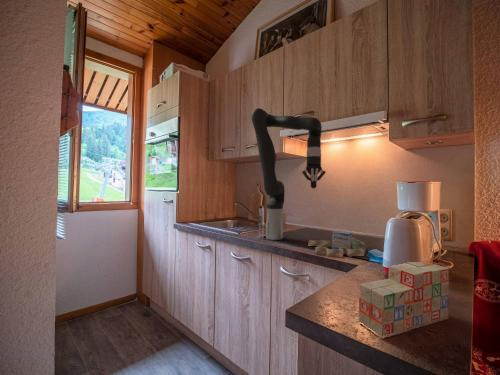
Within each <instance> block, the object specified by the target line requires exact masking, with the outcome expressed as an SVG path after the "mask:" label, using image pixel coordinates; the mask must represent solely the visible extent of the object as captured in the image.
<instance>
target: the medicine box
mask: <svg viewBox="0 0 500 375" xmlns="http://www.w3.org/2000/svg"><path fill="white" fill-rule="evenodd" d="M351 237H352V232H348V231H347V232H346V231H336V230H334V231H332V237H331V238H332V240H331V241H332V247H331V249H339V247H346V248H348V249H352V247H351Z"/></svg>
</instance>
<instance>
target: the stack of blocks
mask: <svg viewBox="0 0 500 375" xmlns="http://www.w3.org/2000/svg"><path fill="white" fill-rule="evenodd" d="M449 295H450V268H449V267H445V266H442V265H440V264H435V263H432V262H428V261H424V260H419V261H417V262H407V263H403V264H398V265H392V266H390V265H389V266H388V278H385V279H381V280H379V279H378V280H374V281H370V282H369V281H368V282H363V283H360V284H359V298H358V299H359V300H358V322H359V321H360V322H361V323H363V324H364V325H366V326H367V327H368V328H370V329H372V330H373V331H375V332H376V333H378V334H380V335H382V336H383V335H386V334H390V333H394V332H397V331H401V330H404V329H407V328H408V327H409V328H410V327H413V326H414V325H419V324H422V323H426V322H430V321H433V320H436V319H441V318H444V317H447V316H448V317H449Z"/></svg>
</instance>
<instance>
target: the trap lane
mask: <svg viewBox="0 0 500 375" xmlns="http://www.w3.org/2000/svg"><path fill="white" fill-rule="evenodd" d="M307 246H317V247H315V255H321V256H322V255H325V256H327V257H329V258H330V257H331V258H334V257H335V258H336V257H337V258H338V257H340V258H342V257H344V255H343V254H346V255H345V256H347V257H350V258H352V256H364V257H365V255H366V243H365V242H363V241H361V240H359V238H356V237H353V236H351V249H348V248H346V247H339V249H332V240H308V245H307ZM330 248H331V249H330ZM364 254H365V255H364Z"/></svg>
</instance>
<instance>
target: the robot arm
mask: <svg viewBox="0 0 500 375" xmlns="http://www.w3.org/2000/svg"><path fill="white" fill-rule="evenodd" d="M250 117H251V118H250V119H251V123H252V126H253V128H254V132H255V137H256V138H255V139H256V143H257V150H258V154H259V155H258V156H259V160H260V164H261V165H260V166H261V171H262V176H263V177H262V178H263V187H264V191H265V194H266V195H267V196H268V198H269V199H268V202H267V203H266V222H265V237H266V240H273V241H279V240H283V238H284V237H283V234H284V233H283V231H284V230H283V229H284V228H283V227H284V226H283V225H284V224H283V223H284V219H283V218H284V215H283V214H284V213H283V212H284V210H283V209H284V208H283V207H284V204H285V192H286V191H285V185H284V183H283V182H282V181H281V180H278V179H277V176H276V163H277V162H276V160H277V155H276V150H275V149H276V148H275V144H274V143H273V140H272V137H271V136H270V135H271V134H270V133H269V130H268V128H273V127H274V128H282V129H288V130H294V131H295V130H296V131H301V130H304V131H308V137H307V140H306V141H307V142H306V167H305V169H304V170H302V171H301V174H302V175H303V177H305V179H306V180H307V181H309V182H310V188H311V189H316V188H317V186H318V185H317V182H318V181H320V180H321V179H322V177H324V175H325V174H326V173H327V172H326V170H324V169H323V168H322V147H321V145H322V143H321V139H322V138H321V136H322V130H323V129H322V123H321V121H320V120H319V119H318V118H316V117H311V116H306V117H305V116H303V117H301V116H294V115H282V116H279V115H272V114H271V113H268V112H267V111H266V110H264V109H262V108H259V107H258V108H255V109H254V110H253V111H252V113H251V116H250Z"/></svg>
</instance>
